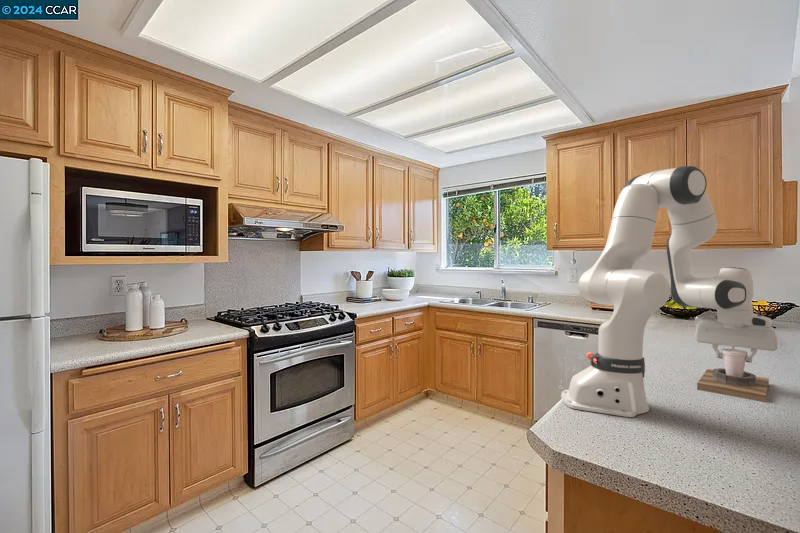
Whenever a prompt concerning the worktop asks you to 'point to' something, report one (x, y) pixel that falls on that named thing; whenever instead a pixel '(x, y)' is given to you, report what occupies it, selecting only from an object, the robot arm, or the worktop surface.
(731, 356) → the smoothie
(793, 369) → the worktop surface
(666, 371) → the worktop surface
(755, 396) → the stand
